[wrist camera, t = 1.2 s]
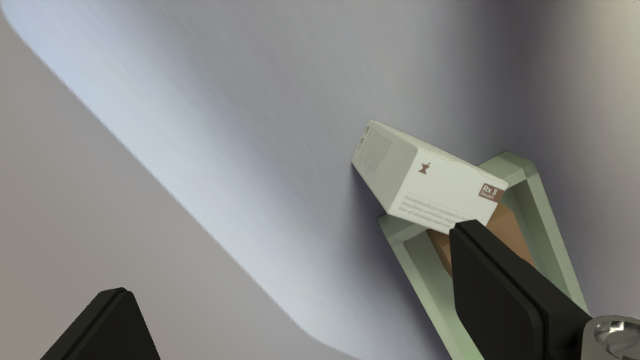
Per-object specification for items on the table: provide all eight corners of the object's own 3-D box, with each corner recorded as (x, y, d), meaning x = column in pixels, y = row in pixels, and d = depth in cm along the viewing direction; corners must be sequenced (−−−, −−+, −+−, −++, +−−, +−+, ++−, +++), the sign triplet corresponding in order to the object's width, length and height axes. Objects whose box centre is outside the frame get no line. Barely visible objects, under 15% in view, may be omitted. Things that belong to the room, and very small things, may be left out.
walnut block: (481, 190, 32) (512, 211, 27) (503, 241, 34) (536, 270, 29) (421, 220, 33) (441, 247, 28) (445, 270, 35) (469, 302, 30)
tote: (506, 150, 32) (534, 162, 28) (568, 312, 38) (599, 340, 34) (376, 218, 33) (386, 238, 29) (456, 365, 39) (473, 397, 35)
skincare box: (349, 163, 31) (379, 218, 20) (370, 115, 30) (414, 144, 19) (411, 186, 32) (474, 252, 21) (434, 141, 31) (513, 184, 20)
